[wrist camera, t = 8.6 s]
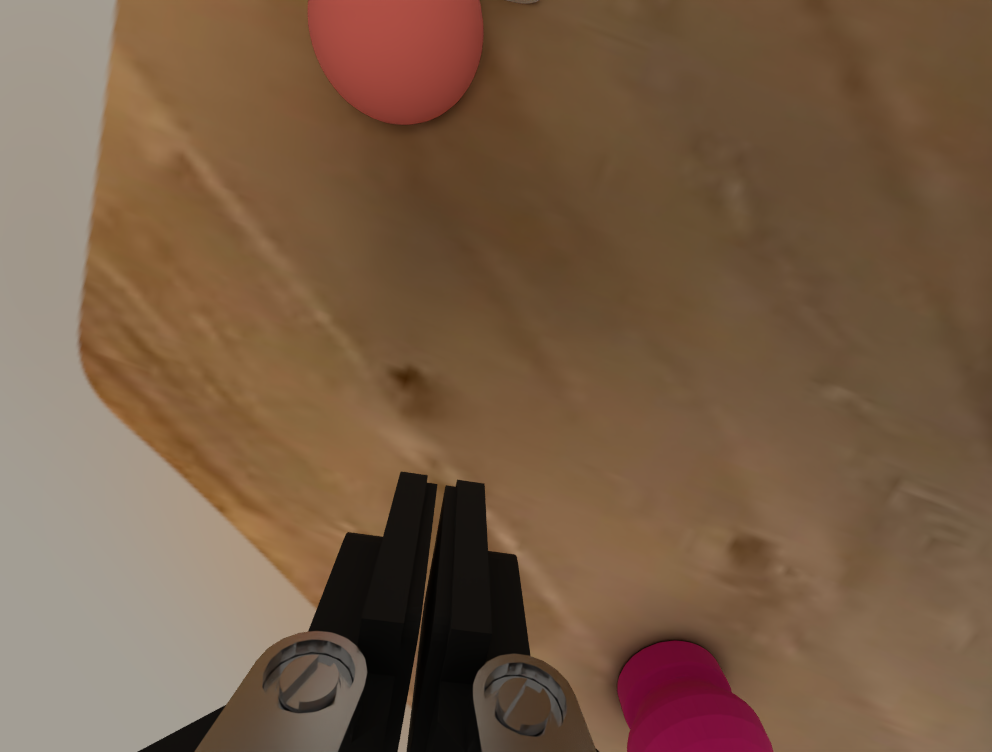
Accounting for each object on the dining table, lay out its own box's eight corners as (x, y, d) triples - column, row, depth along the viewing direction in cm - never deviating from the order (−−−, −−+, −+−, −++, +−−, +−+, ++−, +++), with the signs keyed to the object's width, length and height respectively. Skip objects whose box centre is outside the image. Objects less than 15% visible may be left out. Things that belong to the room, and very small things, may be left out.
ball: (402, -171, 14) (425, 69, 15) (506, -53, 19) (518, 121, 20) (255, -78, 17) (281, 119, 18) (379, 4, 22) (395, 153, 23)
